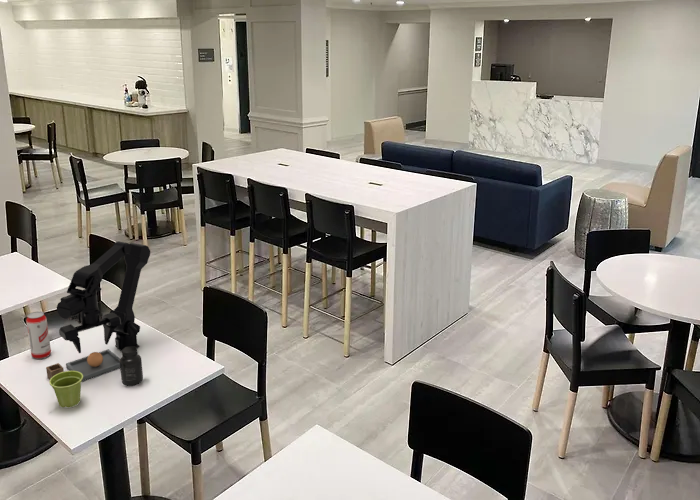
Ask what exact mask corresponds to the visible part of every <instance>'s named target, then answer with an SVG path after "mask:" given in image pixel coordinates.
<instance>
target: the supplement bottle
mask: <svg viewBox="0 0 700 500" xmlns="http://www.w3.org/2000/svg"><path fill="white" fill-rule="evenodd" d="M119 358H120V368H119V369H120V371H119V372H120V380H121V384H122V385H123V386H124V387H136V386H138V385H140V384H141V383H142V382H143V380H144V374H143V373H144V372H143V361H142V356H141V355H140V354H139V351H138V348H136V347H134V346H128V347H125V348H123V349H122V352H121V357H119Z"/></svg>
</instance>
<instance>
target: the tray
mask: <svg viewBox="0 0 700 500" xmlns="http://www.w3.org/2000/svg"><path fill="white" fill-rule="evenodd" d="M98 353H100V354H101V355H102V356H103V361H102V363H101V364H100V365H99V366H97V367H92V366H90V365H89V364H88V362H87V358H88V356H89V355H87V356H84V357H81V358H78V359H75V360H72V361H69V362H66V363H65V366H66V367H65V368H66V369H67V371H78V372H80V373H82V374H83V379H82V382H81V383H84V382H86V381H88V380H89V381H90V380H92V379H94V378H97V377H100V376H102V375H106V374H108V373H111V372H113V371H117V370H119V369H120V358H121V357H119V356H118V355H116V354H115V353H114V352H113V351H111V350H110V349H108V348H107V349H106V350H102V351H98Z"/></svg>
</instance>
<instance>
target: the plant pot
mask: <svg viewBox="0 0 700 500" xmlns="http://www.w3.org/2000/svg"><path fill="white" fill-rule="evenodd" d="M82 379H83V374H82V373H80V372H78V371H69V370H67V371H66V370H64V372H61V373H58V374H56V375H54V376H53V377H52V378H51V379H50V380H49V381H48V382H49V385H50V386H51V387H52V389H53V391H54V394H55V396H56V400H57V403H58V405H59V407H60V408H64V409H65V408H68V409H69V408H73V407H76V406H77V405H78V404H79V403H80V402H81V390H82V389H81V388H82V387H81V386H82V383H83V382H82Z"/></svg>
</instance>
